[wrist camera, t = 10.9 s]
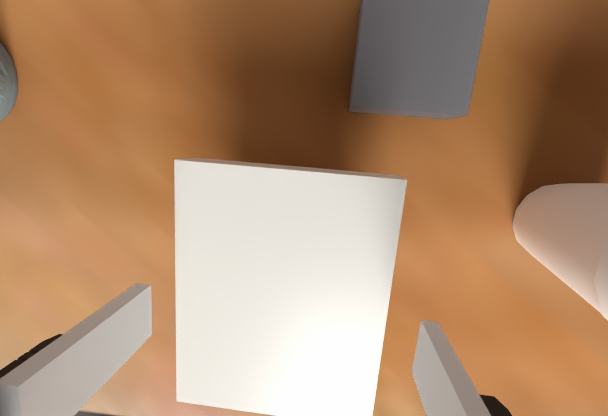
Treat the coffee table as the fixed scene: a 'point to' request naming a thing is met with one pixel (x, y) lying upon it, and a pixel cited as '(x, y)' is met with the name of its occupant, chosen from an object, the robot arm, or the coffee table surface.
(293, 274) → the lid
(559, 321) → the coffee table surface
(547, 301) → the coffee table surface
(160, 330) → the coffee table surface
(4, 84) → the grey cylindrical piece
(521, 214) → the foam cup
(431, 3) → the stand
